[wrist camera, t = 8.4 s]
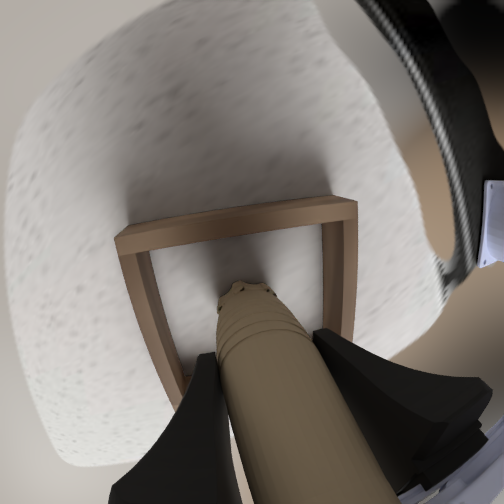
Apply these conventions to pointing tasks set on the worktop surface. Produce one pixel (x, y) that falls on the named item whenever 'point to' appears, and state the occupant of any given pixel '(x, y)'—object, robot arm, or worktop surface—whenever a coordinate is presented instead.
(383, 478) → the handle
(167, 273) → the worktop surface
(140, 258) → the collar
